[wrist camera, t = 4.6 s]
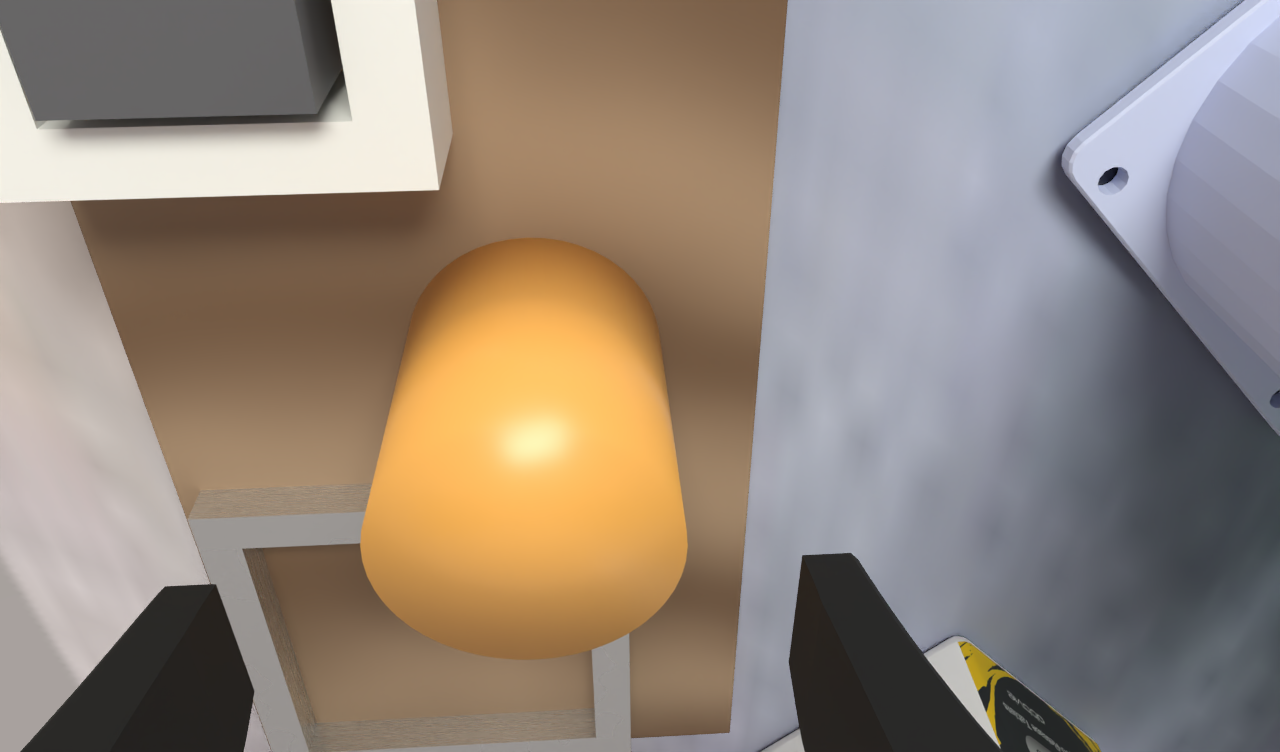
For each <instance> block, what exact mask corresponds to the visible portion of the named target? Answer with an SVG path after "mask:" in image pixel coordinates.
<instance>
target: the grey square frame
mask: <svg viewBox="0 0 1280 752" xmlns="http://www.w3.org/2000/svg"><path fill="white" fill-rule="evenodd" d="M371 487H372V483H364V484H340V485H317V486H293V487H269V488H246V489H222V490H201V491H200V493H199V495H198V497H197V500H196V502H195V504H194V506H193V509H192V511H191V513H190V515H189V518H188V522H189V525H190V528H191V530H192V533H193V536H194V539H195V541H196V544H197V547H198V550H199V552H200V555H201V558H202V561H203V563H204V566H205V569H206V572H207V574H208V577H209V580H210V582H211V584H216V585H217V588H218V591H219V594H220V596H221V599H222V602H223V605H224V608H225V610H226V613H227V616H228V619H229V621H230V624H231V627H232V630H233V633H234V635H235V638H236V641H237V644H238V646H239V649H240V652H241V655H242V657H243V660H244V663H245V666H246V669H247V671H248V674H249V677H250V680H251V682H252V685H253V688H254V691H255V692H254V697H253V700H254V703H255V706H256V709H257V711H258V714H259V717H260V719H261V722H262V725H263V728H264V730H265V733H266V736H267V739H268V741H269V744H270V747H271V750H272V752H631V719H630V653H629V633H628V634H627V635H625V636H623V637H621V638H619V639H617V640H615V641H613V642H611V643H608V644H606V645H603V646H600V647H598V648H595V649H592V665H593V686H594V707H595V708H588V709H569V710H551V711H532V712H513V713H495V714H476V715H457V716H438V717H420V718H401V719H382V720H363V721H345V722H326V723H316V720H315V716H314V713H313V710H312V707H311V704H310V700H309V697H308V694H307V691H306V688H305V684H304V681H303V678H302V675H301V672H300V668H299V665H298V662H297V659H296V656H295V652H294V649H293V646H292V643H291V640H290V636H289V633H288V630H287V627H286V624H285V620H284V617H283V614H282V611H281V608H280V604H279V601H278V598H277V595H276V592H275V589H274V585H273V582H272V579H271V576H270V573H269V569H268V566H267V563H266V560H265V557H264V553H263V550H262V548H268V547H290V546H313V545H335V544H357V543H360V541H361V529H362V525H363V520H364V516H365V512H366V508H367V504H368V499H369V495H370V491H371Z"/></svg>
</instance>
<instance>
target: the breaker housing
mask: <svg viewBox="0 0 1280 752" xmlns="http://www.w3.org/2000/svg"><path fill="white" fill-rule="evenodd" d="M331 3H332V9H333V14H334V20H335V26H336V31H337V37H338V43H339V48H340V54H341V60H342V65H343V71H344V72H340V73H339V75H338V77H337V79H336V80H335V82H334V84H333V86H332V87H331V89H330V91H329V93H328V95H327V96H326V98H325V100H324V102H323V104H322V105H321V107H320V109H319V111H318V113H317V114H290V115H250V116H211V117H171V118H131V119H92V120H52V121H35V118H34V115H33V113H32V110H31V107H30V104H29V102H28V99H27V96H26V94H25V91H24V88H23V85H22V83H21V80H20V77H19V75H18V72H17V69H16V66H15V64H14V61H13V58H12V56H11V53H10V50H9V47H8V45H7V42H6V39H5V37H4V34H3V31H2V28H1V26H0V203H9V202H44V201H78V200H113V199H147V198H182V197H217V196H251V195H286V194H320V193H355V192H389V191H424V190H439V189H440V185H441V181H442V176H443V172H444V168H445V164H446V160H447V156H448V152H449V148H450V144H451V139H452V135H453V132H452V123H451V115H450V106H449V98H448V89H447V81H446V72H445V64H444V55H443V47H442V39H441V30H440V22H439V13H438V5H437V0H331Z"/></svg>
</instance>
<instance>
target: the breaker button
mask: <svg viewBox="0 0 1280 752" xmlns="http://www.w3.org/2000/svg"><path fill="white" fill-rule="evenodd" d="M0 26H1V28H2V31H3V34H4V37H5V39H6V42H7V45H8V47H9V50H10V53H11V56H12V58H13V61H14V64H15V66H16V69H17V72H18V75H19V77H20V80H21V83H22V85H23V88H24V91H25V94H26V96H27V99H28V102H29V104H30V107H31V110H32V113H33V115H34V118H35V121H52V120H92V119H131V118H171V117H211V116H250V115H290V114H317V113H318V111H319V109H320V107H321V105H322V104H323V102H324V100H325V98H326V96H327V95H328V93H329V91H330V89H331V87H332V86H333V84H334V82H335V80H336V79H337V77H338V75H339V73H340V71H341V70H342V68H343V65H342V60H341V54H340V48H339V43H338V37H337V31H336V26H335V20H334V14H333V9H332V3H331V0H0Z"/></svg>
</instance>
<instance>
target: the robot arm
mask: <svg viewBox="0 0 1280 752" xmlns="http://www.w3.org/2000/svg"><path fill="white" fill-rule="evenodd" d="M1113 167H1119V168H1118V171H1117V175H1116V176H1115V177H1114V178H1113V179H1112V181H1110V182H1108V183H1106V184H1104V185H1098V182H1099V178H1100V177H1101V176H1102V175H1103V173H1104V172H1105V171H1107V170H1109V169H1111V168H1113ZM1062 168H1063V170H1064V172H1065V174H1066V175H1067V177H1068V178H1069V179H1070V180H1071V182H1072V183H1073V184H1074V185H1075V186H1076V188H1077V189H1078V190H1079V191H1080V193H1081V194H1082V195H1083V196H1084V198H1085V199H1086V200H1087V201H1088V202H1089V204H1090V205H1091V206H1092V207H1093V209H1094V210H1095V211H1096V212H1097V214H1098V215H1099V216H1100V217H1101V218H1102V220H1103V221H1104V222H1105V223H1106V225H1107V226H1108V227H1109V228H1110V230H1111V231H1112V232H1113V233H1114V234H1115V236H1116V237H1117V238H1118V239H1119V241H1120V242H1121V243H1122V244H1123V246H1124V247H1125V248H1126V249H1127V250H1128V252H1129V253H1130V254H1131V255H1132V257H1133V258H1134V259H1135V260H1136V262H1137V263H1138V264H1139V265H1140V266H1141V268H1142V269H1143V270H1144V271H1145V273H1146V274H1147V275H1148V276H1149V278H1150V279H1151V280H1152V281H1153V282H1154V284H1155V285H1156V286H1157V287H1158V289H1159V290H1160V291H1161V292H1162V294H1163V295H1164V296H1165V297H1166V298H1167V300H1168V301H1169V302H1170V303H1171V305H1172V306H1173V307H1174V308H1175V310H1176V311H1177V312H1178V313H1179V314H1180V316H1181V317H1182V318H1183V319H1184V321H1185V322H1186V323H1187V324H1188V325H1189V327H1190V328H1191V329H1192V330H1193V332H1194V333H1195V334H1196V335H1197V337H1198V338H1199V339H1200V340H1201V341H1202V343H1203V344H1204V345H1205V346H1206V348H1207V349H1208V350H1209V351H1210V353H1211V354H1212V355H1213V356H1214V357H1215V359H1216V360H1217V361H1218V362H1219V364H1220V365H1221V366H1222V367H1223V369H1224V370H1225V371H1226V372H1227V373H1228V375H1229V376H1230V377H1231V378H1232V380H1233V381H1234V382H1235V383H1236V385H1237V386H1238V387H1239V388H1240V389H1241V391H1242V392H1243V393H1244V394H1245V396H1246V397H1247V398H1248V399H1249V401H1250V402H1251V403H1252V404H1253V405H1254V407H1255V408H1256V409H1257V410H1258V412H1259V413H1260V414H1261V415H1262V417H1263V418H1264V419H1265V420H1266V421H1267V423H1268V424H1269V425H1270V426H1271V428H1272V429H1273V430H1274V431H1275V432H1276V433H1277V434H1278V435H1279V436H1280V392H1279V393H1277V394H1275V393H1276V392H1277V391H1278V390H1280V0H1244V1H1243V2H1242V3H1241V4H1239V5H1238V6H1237V7H1236V8H1234V9H1233V10H1232V11H1231V12H1229V13H1228V14H1227V15H1226V16H1224V17H1223V18H1222V19H1221V20H1219V21H1218V22H1217V23H1216V24H1214V25H1213V26H1212V27H1211V28H1209V29H1208V30H1207V31H1206V32H1204V33H1203V34H1202V35H1201V36H1199V37H1198V38H1197V39H1196V40H1194V41H1193V42H1192V43H1191V44H1189V45H1188V46H1187V47H1186V48H1184V49H1183V50H1182V51H1181V52H1179V53H1178V54H1177V55H1176V56H1174V57H1173V58H1172V59H1171V60H1169V61H1168V62H1167V63H1166V64H1164V65H1163V66H1162V67H1161V68H1159V69H1158V70H1157V71H1156V72H1154V73H1153V74H1152V75H1151V76H1149V77H1148V78H1147V79H1146V80H1144V81H1143V82H1142V83H1141V84H1139V85H1138V86H1137V87H1136V88H1134V89H1133V90H1132V91H1131V92H1129V93H1128V94H1127V95H1126V96H1124V97H1123V98H1122V99H1121V100H1119V101H1118V102H1117V103H1116V104H1114V105H1113V106H1112V107H1111V108H1109V109H1108V110H1107V111H1106V112H1104V113H1103V114H1102V115H1101V116H1099V117H1098V118H1097V119H1096V120H1094V121H1093V122H1092V123H1091V124H1089V125H1088V126H1087V127H1086V128H1084V129H1083V130H1082V131H1081V132H1079V133H1078V134H1077V135H1076V136H1075V137H1074V138H1073V139H1072V140H1071V141H1070V142H1069V143H1068V144H1067V146H1066V148H1065V150H1064V152H1063V154H1062ZM1273 394H1275V395H1273ZM1272 395H1273V396H1272ZM789 666H790V673H791V679H792V685H793V692H794V698H795V704H796V710H797V716H798V722H799V728H800V733H801V739H802V743H803V747H804V751H805V752H1003V751H1002V750H1001V749H1000V747H999V746H998V745H997V744H996V743H995V742H994V741H993V739H992V738H991V737H990V736H989V735H988V734H987V733H986V731H985V730H984V729H983V728H982V727H981V726H980V724H979V723H978V722H977V721H976V720H975V718H974V717H973V716H972V715H971V714H970V712H969V711H968V710H967V709H966V708H965V706H964V705H963V704H962V703H961V701H960V700H959V699H958V698H957V696H956V695H955V694H954V693H953V691H952V690H951V689H950V688H949V686H948V685H947V684H946V682H945V681H944V680H943V679H942V677H941V676H940V675H939V674H938V672H937V671H936V670H935V668H934V667H933V666H932V665H931V663H930V662H929V661H928V659H927V658H926V657H925V655H924V654H923V653H922V651H921V650H920V649H919V647H918V646H917V645H916V643H915V642H914V641H913V639H912V638H911V637H910V635H909V634H908V632H907V631H906V630H905V628H904V627H903V625H902V624H901V623H900V621H899V620H898V619H897V617H896V616H895V614H894V613H893V611H892V610H891V609H890V607H889V606H888V604H887V603H886V601H885V600H884V598H883V597H882V595H881V594H880V592H879V591H878V589H877V588H876V586H875V585H874V583H873V582H872V580H871V579H870V577H869V576H868V574H867V573H866V571H865V570H864V568H863V567H862V565H861V563H860V562H859V560H858V559H857V558H856V557H855V556H853V555H852V554H851V553H843V554H822V555H802V563H801V571H800V579H799V587H798V594H797V602H796V610H795V618H794V626H793V634H792V642H791V649H790V657H789ZM254 692H255V691H254V688H253V685H252V682H251V680H250V677H249V674H248V671H247V669H246V666H245V663H244V660H243V657H242V655H241V652H240V649H239V646H238V644H237V641H236V638H235V635H234V633H233V630H232V627H231V624H230V621H229V619H228V616H227V613H226V610H225V608H224V605H223V602H222V599H221V596H220V594H219V591H218V588H217V585H216V584H208V585H187V586H167V587H164V588H163V589H162V590H161V591H160V592H159V593H158V595H157V596H156V597H155V598H154V599H153V600H152V601H151V603H150V604H149V605H148V606H147V607H146V608H145V609H144V611H143V612H142V613H141V614H140V615H139V617H138V618H137V619H136V620H135V621H134V622H133V624H132V625H131V626H130V627H129V628H128V629H127V631H126V632H125V633H124V634H123V635H122V637H121V638H120V639H119V640H118V641H117V642H116V644H115V645H114V646H113V647H112V648H111V650H110V651H109V652H108V653H107V654H106V655H105V657H104V658H103V659H102V660H101V661H100V662H99V664H98V665H97V666H96V667H95V668H94V669H93V671H92V672H91V673H90V674H89V675H88V676H87V678H86V679H85V680H84V681H83V682H82V683H81V685H80V686H79V687H78V688H77V689H76V690H75V691H74V693H73V694H72V695H71V696H70V697H69V698H68V699H67V700H66V701H65V703H64V704H63V705H62V706H61V707H60V708H59V709H58V710H57V712H56V713H55V714H54V715H53V716H52V717H51V718H50V719H49V721H48V722H47V723H46V724H45V725H44V726H43V727H42V728H41V729H40V731H39V732H38V733H37V734H36V735H35V736H34V737H33V739H32V740H31V741H30V742H29V743H28V744H27V745H26V746H25V747H24V748H23V749H22V751H21V752H243V751H244V747H245V742H246V737H247V731H248V726H249V720H250V714H251V709H252V703H253V697H254Z"/></svg>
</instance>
